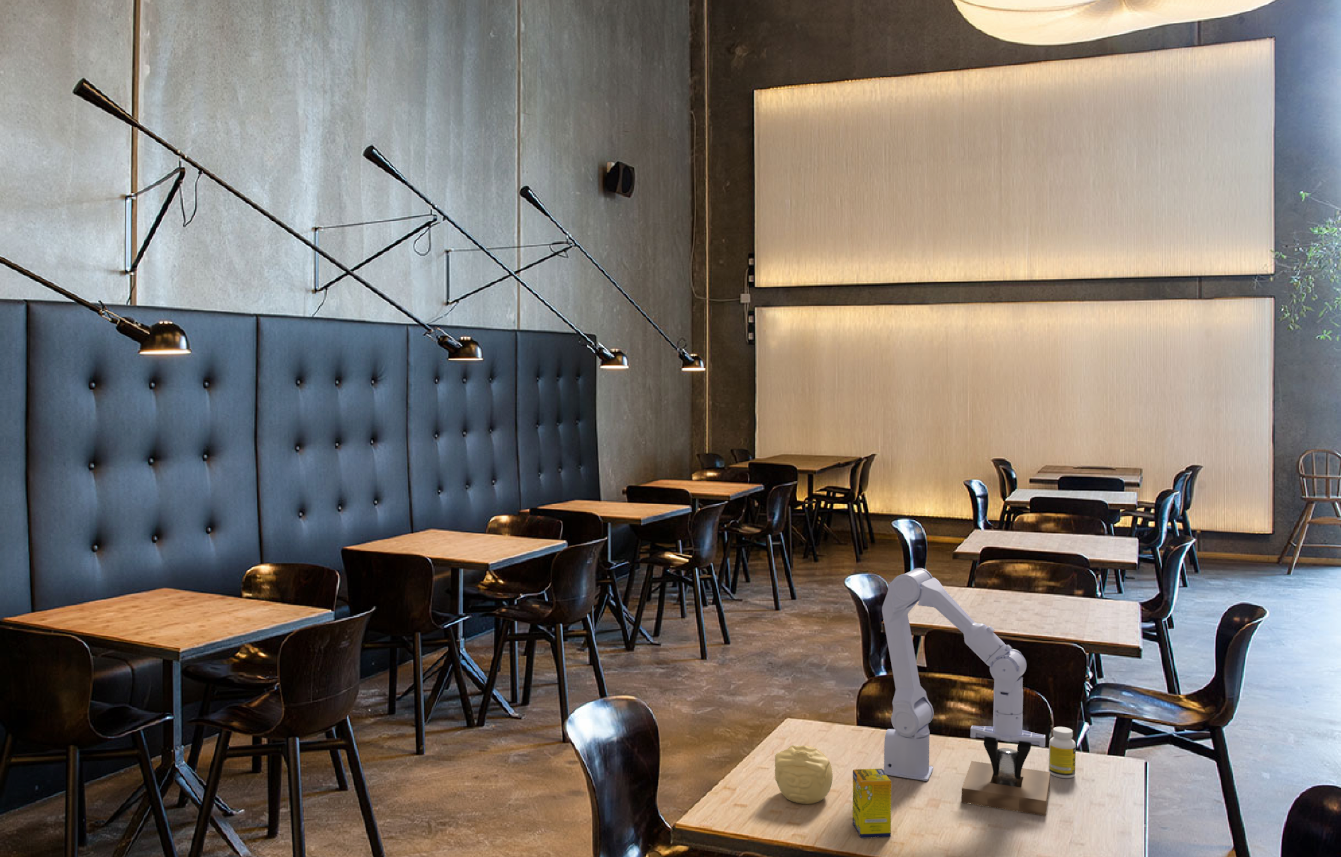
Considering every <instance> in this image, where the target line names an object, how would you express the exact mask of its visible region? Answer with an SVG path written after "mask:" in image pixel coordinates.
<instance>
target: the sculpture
mask: <svg viewBox="0 0 1341 857" xmlns="http://www.w3.org/2000/svg"><path fill="white" fill-rule="evenodd" d="M774 768H775V769H774V777H775V782H776V784H777V786H778V788H779V791H780V793H781V794H782V796H783V797H784V798H785V799H787V800H788V801H791V802H793V803H797V804H803V805H811V804H817V803H819V802H821V801H822V800H824V799H825V798H826V797H827V795H828V794H829V792H830V790H831V788H832V785H833V784H832V783H833V776H834V775H833V768H832V764H831V761H830V759H829V758H828V757H827V755H826V754H825V753H824V752H822V751H821V750H820V749H818V748H817V747H814V746H810V745H794V744H792V745H790V746H789V747H788V748H786V749H784V750H781V751H779V752H777V753H776V754H775V756H774Z"/></svg>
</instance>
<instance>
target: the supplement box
mask: <svg viewBox="0 0 1341 857" xmlns="http://www.w3.org/2000/svg"><path fill="white" fill-rule="evenodd" d="M852 825H853V827H854V828H855V829H856V832H857V834H858V836H859V837H860V838H861V839H868V838H869V839H871V837H872V838H873V837H877V838H891V837H892V780H891V779H890V777H888V775H886V774H885V772H884V768H856V769H852ZM873 839H874V838H873Z"/></svg>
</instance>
